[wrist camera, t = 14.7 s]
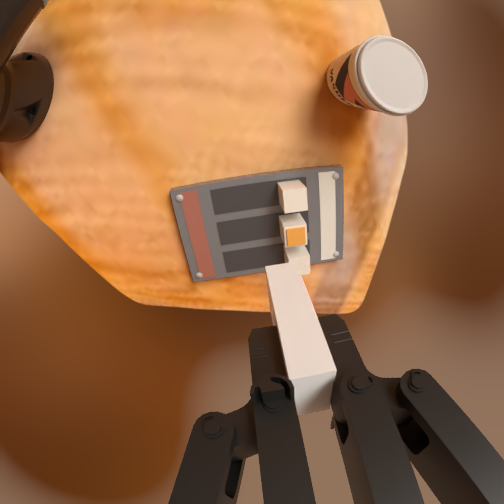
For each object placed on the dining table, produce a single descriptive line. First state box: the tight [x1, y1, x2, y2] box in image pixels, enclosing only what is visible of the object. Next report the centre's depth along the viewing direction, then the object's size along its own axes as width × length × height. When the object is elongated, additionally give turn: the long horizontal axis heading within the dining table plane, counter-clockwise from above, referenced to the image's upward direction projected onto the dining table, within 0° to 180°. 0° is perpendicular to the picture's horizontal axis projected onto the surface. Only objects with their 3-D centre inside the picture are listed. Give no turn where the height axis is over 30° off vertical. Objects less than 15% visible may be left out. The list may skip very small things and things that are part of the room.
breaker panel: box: [170, 165, 344, 282], centre depth 38 cm, size 24×15×6 cm, turn 98°
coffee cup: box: [327, 35, 428, 116], centre depth 26 cm, size 9×9×12 cm
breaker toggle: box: [279, 213, 307, 248], centre depth 38 cm, size 3×3×4 cm
